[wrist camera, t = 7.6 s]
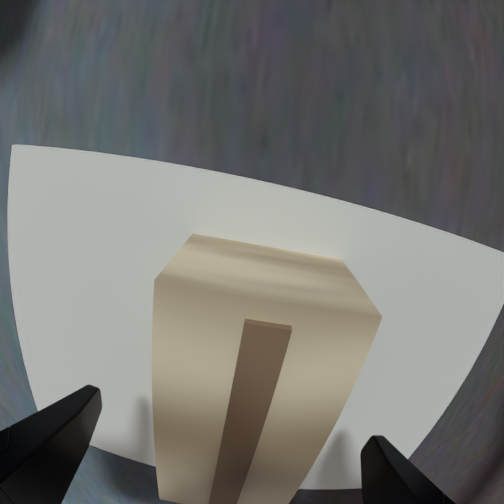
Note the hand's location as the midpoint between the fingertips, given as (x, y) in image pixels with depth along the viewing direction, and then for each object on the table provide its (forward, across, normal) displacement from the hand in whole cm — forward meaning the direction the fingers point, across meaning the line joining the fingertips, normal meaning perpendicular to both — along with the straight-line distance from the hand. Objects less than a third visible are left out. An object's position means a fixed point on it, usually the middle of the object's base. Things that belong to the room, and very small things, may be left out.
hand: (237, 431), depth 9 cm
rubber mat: (+4, 0, +1) cm, 4 cm away
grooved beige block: (+3, 0, 0) cm, 3 cm away
